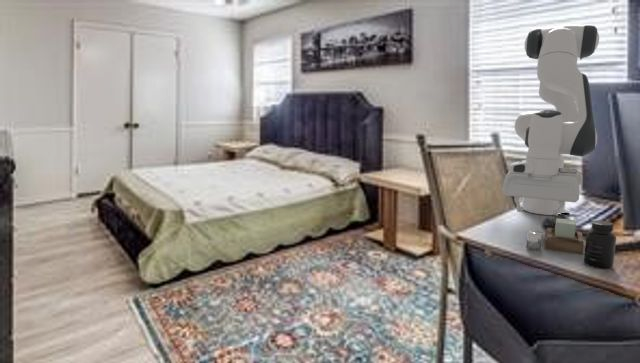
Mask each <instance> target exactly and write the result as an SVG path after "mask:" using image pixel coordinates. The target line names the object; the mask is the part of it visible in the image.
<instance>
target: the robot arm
mask: <svg viewBox="0 0 640 363" xmlns="http://www.w3.org/2000/svg"><path fill="white" fill-rule="evenodd" d="M599 44H600V34H599V31H598V28H597V26H595V25H592V24H584V25H581V24H562V25H556V26H547V27H542V26H541V27H536V28H533V29H531V30H530V31H529V32H528V34H527V36H526V38H525V41H524V51H525V53H526V56H527V57H528V58H529V59H532V60H537V66H536V69H537V72H536V75H537V79H538V80H539V89H538V90H539V91H538V95H539V97H540V99H541V100H542V101H544V102H545V103H548V104H550V105H552V106H553V107H554V108H555V110H554V109H553V110H552V109H544V110H533V111H527V112H526V111H525V112H522V113H520V114H519V115H518V116H517V118H516V120H515V122H514V130H515V133H516V134H517V136H518V137H519V138H520V139H522V141H524V145H525V146H526V148H528V151H527V152H526V156H525V157H526V158H525V159H524V160H518V161H515V162H511V163H510V164H509V165H508V172H507V173H506V175H505V177H504V180H503V182H502V183H503V184H502V188H501V193H502V194H503V196H507V197H514V199H513V201H514V202H515V204H516V209H517V210H516V212H519V213H521V212H523V211H525V212H528V213H532V214H537V215H544V216H553V217H554V216H556V217H558V216H559V215H558V213H562V212H566V211H570V210H569V209H568V208H567V207H566V202H567V203H568V202H569V203H577V202H578V201H579V200H580V185H582V183H583V177H584V176H583V173H582V172H581V171H579V170H577V169H574V168H573V169H571V168H570V169H569V168H564V165H565V158H564V155H568V156H569V155H570V156H574V157H581V158H582V157H585V156H587V155H589V154H590V153H592V152H594V151H595V149H596V147H597V143H598V133H597V129H596V127H595V121H594V114H593V103H592V96H591V88H590V82H589V79H588V76H587V75H586V74H585V73H583V72H581V70H580V69H579V67H578V58H579V60H583V59H584V58H588V57H590V56H592V55H593V54H594V53H595V51H596V49H597V48H598V46H599ZM520 198H522V201H521V202H520Z"/></svg>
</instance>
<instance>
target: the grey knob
mask: <svg viewBox="0 0 640 363" xmlns="http://www.w3.org/2000/svg"><path fill="white" fill-rule="evenodd" d="M542 242H543V232H541V231H537V230H528V231H527V235H526V245H525V248H526V249H527V250H528V251H532V250H533V252H539V251H538V250H540V251H541V249H542Z"/></svg>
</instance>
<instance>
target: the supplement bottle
mask: <svg viewBox="0 0 640 363" xmlns="http://www.w3.org/2000/svg"><path fill="white" fill-rule="evenodd" d="M585 237H586V238H585V243H584V252H583V255H584V256H583V262H584V264H585V265H586V266H588V267H591V268H595V269H600V270H608V269H611V268H612V267H613V266H614V260H615V253H616V244H617V236H616V234H615V233H614V223H613V222H610V221H606V220H601V219H600V220H598V219H597V220H593V221H592V223H591V230H589V231H587V232H586V236H585Z"/></svg>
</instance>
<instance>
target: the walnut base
mask: <svg viewBox="0 0 640 363" xmlns="http://www.w3.org/2000/svg"><path fill="white" fill-rule="evenodd" d="M544 249H545V250H548V249H551V250H550V251H555V250H557V252H561V253H562V252H563V253H570V254H576V255H577V254H578V255H584V253H585V241H584V237H583V233H582V231H579V230H575V236H574V238H566V237H559V236H555V227H554V228H552V227H546V230H545V235H544Z"/></svg>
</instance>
